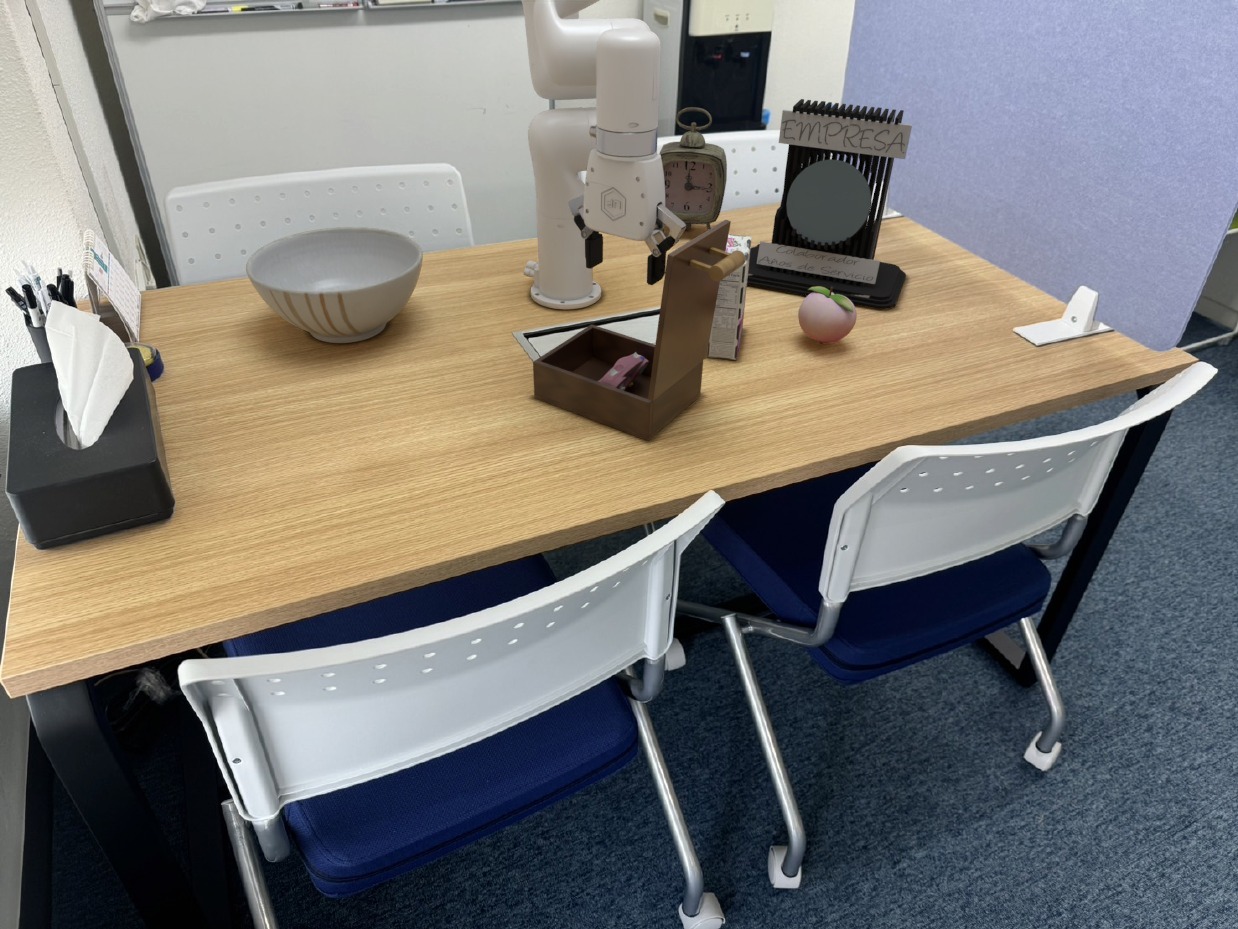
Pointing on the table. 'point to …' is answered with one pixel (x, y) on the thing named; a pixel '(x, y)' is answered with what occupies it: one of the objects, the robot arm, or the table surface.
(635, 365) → the video game controller
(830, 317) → the decorative fruit
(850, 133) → the award
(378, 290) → the decorative bowl
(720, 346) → the candy bar box
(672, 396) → the chest
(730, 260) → the chest lid
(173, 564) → the table surface
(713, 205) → the tabletop clock
